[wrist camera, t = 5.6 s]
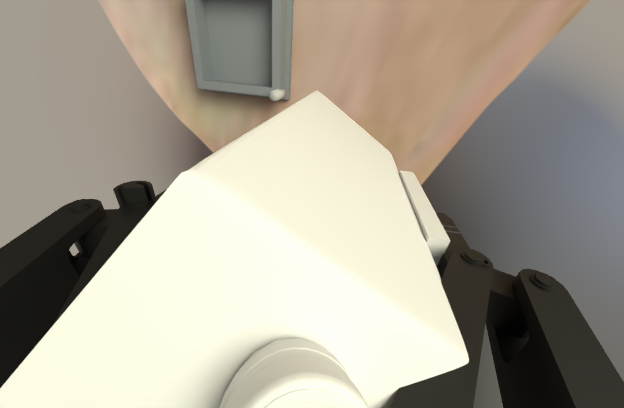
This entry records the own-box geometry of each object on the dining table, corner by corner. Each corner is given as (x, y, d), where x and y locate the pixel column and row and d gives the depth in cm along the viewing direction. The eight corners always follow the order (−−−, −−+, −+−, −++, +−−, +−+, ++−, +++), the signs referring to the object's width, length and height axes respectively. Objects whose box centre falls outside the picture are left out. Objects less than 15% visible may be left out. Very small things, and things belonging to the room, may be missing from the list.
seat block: (194, -22, 29) (166, -38, 24) (293, -15, 27) (282, -31, 23) (208, 90, 35) (187, 93, 30) (290, 99, 33) (280, 103, 29)
